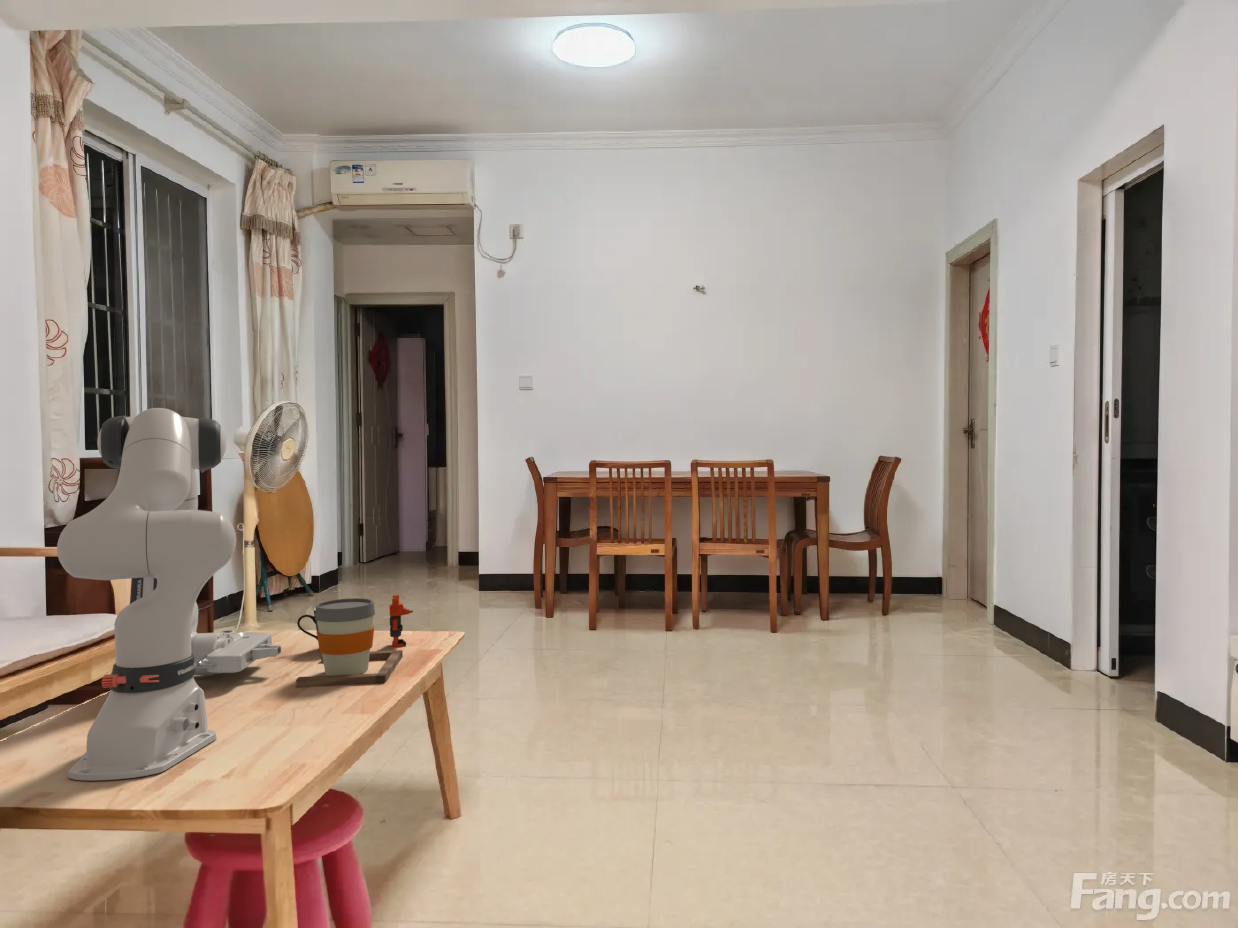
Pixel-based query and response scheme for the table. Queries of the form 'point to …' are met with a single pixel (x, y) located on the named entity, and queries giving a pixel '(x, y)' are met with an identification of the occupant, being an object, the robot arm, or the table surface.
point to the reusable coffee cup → (345, 634)
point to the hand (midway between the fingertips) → (279, 650)
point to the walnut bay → (380, 677)
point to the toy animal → (397, 621)
